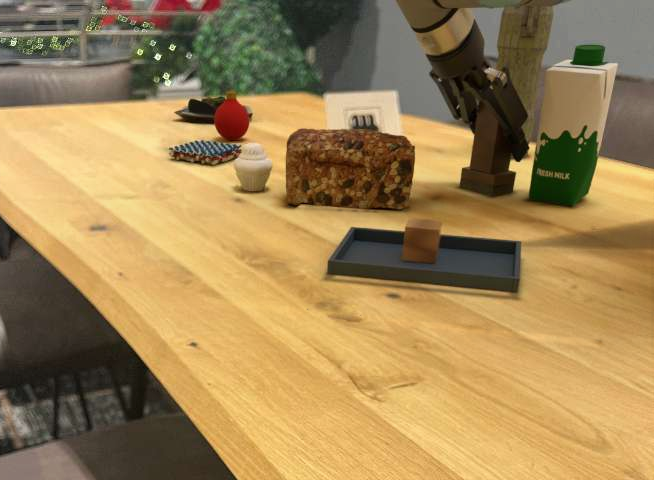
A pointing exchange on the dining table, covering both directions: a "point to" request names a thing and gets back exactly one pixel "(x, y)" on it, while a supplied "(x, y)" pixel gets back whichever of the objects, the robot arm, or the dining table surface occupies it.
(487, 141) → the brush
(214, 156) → the woven mat
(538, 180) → the milk carton
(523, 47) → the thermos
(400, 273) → the tray
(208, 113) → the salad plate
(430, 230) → the wooden block
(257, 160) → the muffin
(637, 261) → the dining table surface
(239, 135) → the christmas ornament
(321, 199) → the bread
